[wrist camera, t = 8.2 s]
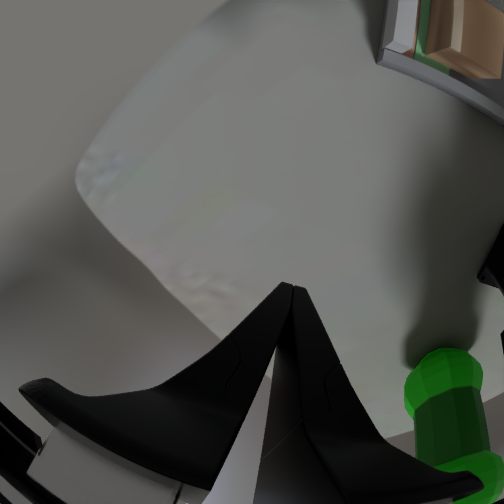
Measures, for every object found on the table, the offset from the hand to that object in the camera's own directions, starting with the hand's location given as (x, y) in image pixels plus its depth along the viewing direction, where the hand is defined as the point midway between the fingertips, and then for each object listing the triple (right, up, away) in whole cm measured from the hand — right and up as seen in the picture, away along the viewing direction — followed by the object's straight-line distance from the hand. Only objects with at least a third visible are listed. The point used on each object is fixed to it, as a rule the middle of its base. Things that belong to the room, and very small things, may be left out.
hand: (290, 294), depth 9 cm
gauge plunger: (+12, +16, 0) cm, 20 cm away
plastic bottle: (+20, -11, +16) cm, 29 cm away
